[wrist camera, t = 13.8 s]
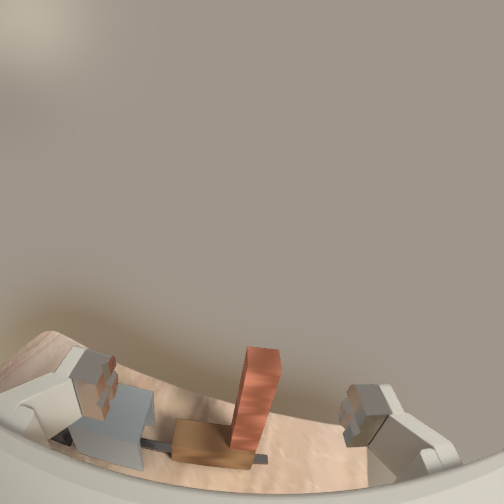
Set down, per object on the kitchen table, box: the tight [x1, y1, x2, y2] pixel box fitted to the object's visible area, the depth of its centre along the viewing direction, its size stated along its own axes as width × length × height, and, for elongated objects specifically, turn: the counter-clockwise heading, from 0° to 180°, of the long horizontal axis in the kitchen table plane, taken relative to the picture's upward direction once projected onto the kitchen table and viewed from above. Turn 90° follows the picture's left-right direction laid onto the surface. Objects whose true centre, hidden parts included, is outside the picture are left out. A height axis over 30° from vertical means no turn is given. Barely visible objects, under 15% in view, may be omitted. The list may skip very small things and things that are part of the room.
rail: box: [140, 438, 268, 464], centre depth 34 cm, size 26×1×1 cm, turn 91°
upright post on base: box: [171, 346, 282, 470], centre depth 32 cm, size 10×4×18 cm, turn 91°
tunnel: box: [68, 383, 155, 471], centre depth 33 cm, size 9×9×7 cm
